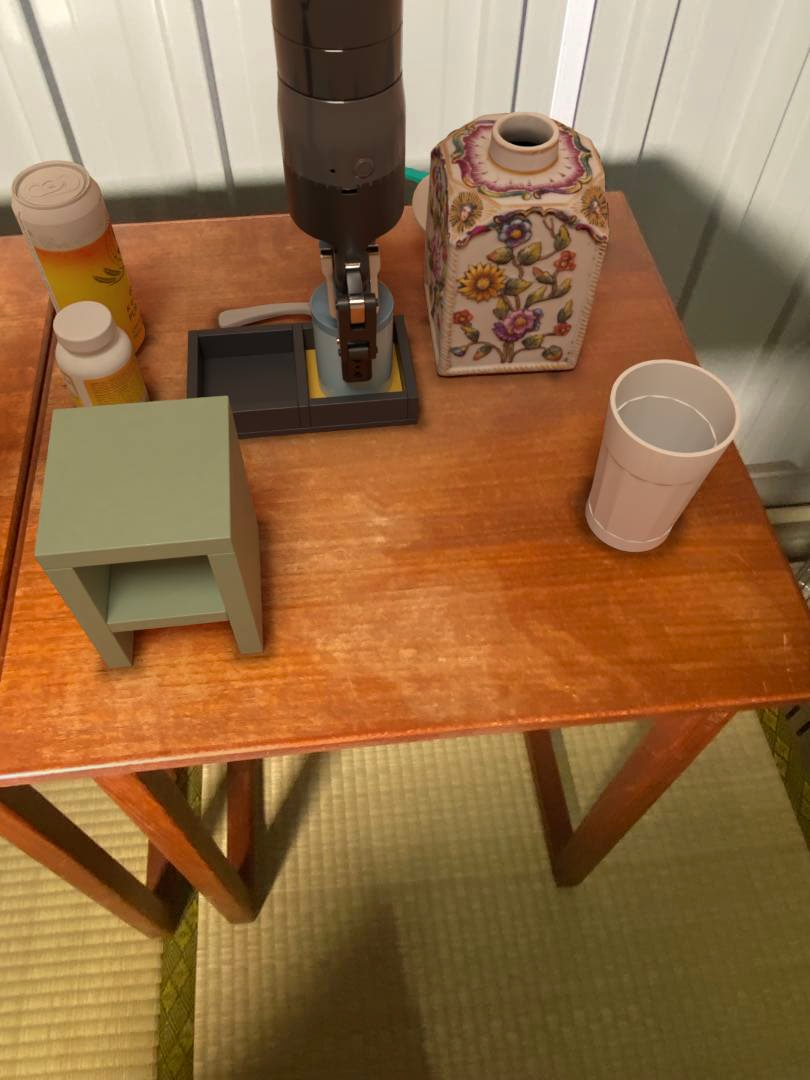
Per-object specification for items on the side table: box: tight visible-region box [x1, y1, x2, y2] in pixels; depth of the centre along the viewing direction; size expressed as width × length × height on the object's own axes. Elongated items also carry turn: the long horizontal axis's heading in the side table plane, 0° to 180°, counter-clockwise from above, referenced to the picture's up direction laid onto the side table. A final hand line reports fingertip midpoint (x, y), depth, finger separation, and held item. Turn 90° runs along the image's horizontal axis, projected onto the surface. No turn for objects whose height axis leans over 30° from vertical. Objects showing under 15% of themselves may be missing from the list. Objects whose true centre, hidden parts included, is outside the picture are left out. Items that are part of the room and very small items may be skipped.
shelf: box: [33, 396, 264, 670], centre depth 52 cm, size 10×10×14 cm
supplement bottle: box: [52, 301, 151, 408], centre depth 63 cm, size 5×5×10 cm
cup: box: [584, 358, 741, 553], centre depth 57 cm, size 8×8×12 cm
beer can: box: [10, 159, 146, 354], centre depth 64 cm, size 6×6×15 cm
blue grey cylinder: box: [309, 278, 395, 397], centre depth 65 cm, size 6×6×8 cm
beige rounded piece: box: [411, 174, 430, 233], centre depth 75 cm, size 5×5×10 cm
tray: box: [186, 314, 419, 440], centre depth 67 cm, size 17×9×3 cm, turn 97°
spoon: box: [218, 301, 311, 328], centre depth 72 cm, size 3×12×2 cm, turn 97°
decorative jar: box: [423, 111, 611, 377], centre depth 65 cm, size 12×12×18 cm
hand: (353, 346), depth 65 cm, fingers closed on blue grey cylinder, 6 cm apart
